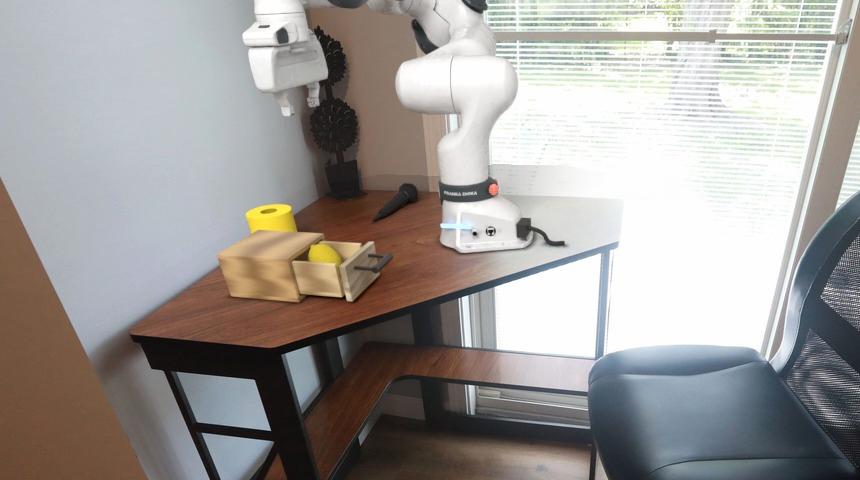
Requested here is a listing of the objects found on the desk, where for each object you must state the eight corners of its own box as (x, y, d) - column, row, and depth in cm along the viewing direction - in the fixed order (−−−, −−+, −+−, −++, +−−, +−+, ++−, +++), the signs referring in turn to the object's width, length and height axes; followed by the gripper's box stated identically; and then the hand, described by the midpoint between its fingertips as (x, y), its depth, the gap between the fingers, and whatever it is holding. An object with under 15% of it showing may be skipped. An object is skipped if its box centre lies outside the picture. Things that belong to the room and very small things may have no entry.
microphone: (382, 233, 150) (421, 201, 164) (383, 214, 146) (422, 183, 160) (364, 225, 151) (404, 194, 165) (365, 206, 147) (405, 176, 161)
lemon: (354, 263, 115) (326, 233, 114) (340, 270, 110) (311, 239, 109) (339, 280, 118) (311, 251, 117) (324, 288, 113) (295, 257, 112)
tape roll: (285, 259, 130) (274, 219, 125) (248, 256, 133) (235, 217, 127) (309, 243, 138) (299, 205, 133) (274, 240, 141) (263, 203, 135)
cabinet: (333, 273, 123) (323, 233, 118) (298, 302, 112) (286, 259, 107) (270, 268, 126) (258, 229, 121) (230, 296, 115) (216, 254, 110)
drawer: (403, 276, 118) (397, 243, 114) (377, 303, 108) (370, 268, 104) (318, 270, 122) (310, 237, 118) (286, 295, 112) (276, 261, 108)
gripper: (299, 28, 115) (315, 102, 123) (235, 36, 99) (258, 120, 106) (327, 27, 114) (341, 102, 121) (267, 35, 97) (287, 121, 105)
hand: (302, 111), depth 114 cm, fingers open, 8 cm apart
